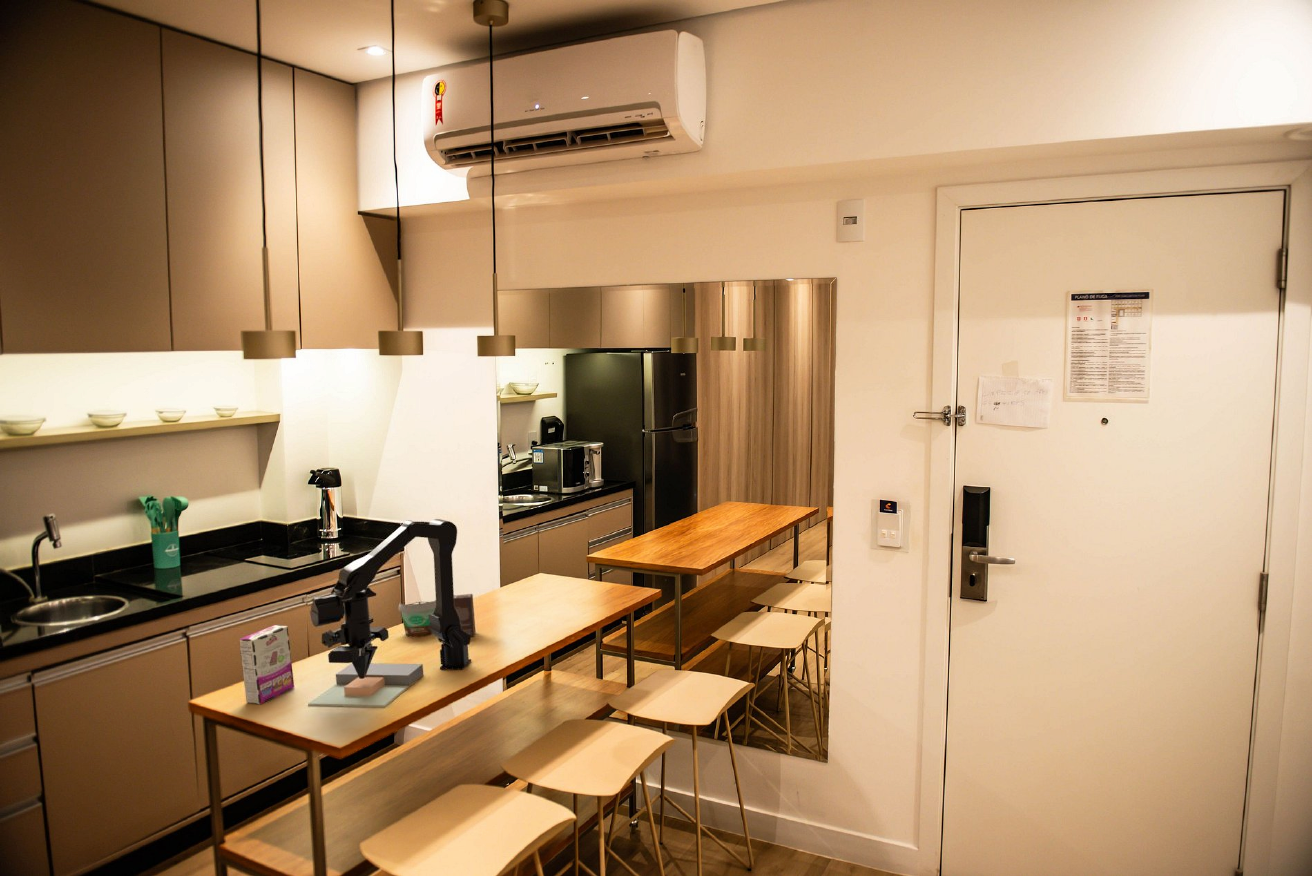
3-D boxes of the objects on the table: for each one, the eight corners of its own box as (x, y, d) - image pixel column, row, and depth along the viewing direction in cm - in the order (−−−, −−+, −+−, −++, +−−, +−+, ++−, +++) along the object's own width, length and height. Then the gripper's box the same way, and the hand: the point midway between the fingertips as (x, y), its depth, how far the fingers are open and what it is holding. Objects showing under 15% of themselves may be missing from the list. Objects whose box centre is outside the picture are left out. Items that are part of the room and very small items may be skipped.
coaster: (385, 684, 210) (384, 677, 210) (370, 695, 203) (370, 687, 203) (359, 684, 212) (359, 676, 211) (344, 695, 205) (343, 687, 205)
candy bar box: (280, 686, 215) (274, 624, 213) (295, 688, 213) (289, 625, 211) (244, 703, 204) (238, 638, 203) (259, 705, 202) (253, 639, 201)
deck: (423, 675, 217) (422, 663, 217) (409, 686, 209) (408, 675, 209) (353, 674, 221) (352, 663, 220) (336, 685, 213) (335, 674, 213)
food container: (399, 640, 247) (397, 608, 246) (400, 634, 253) (397, 602, 252) (442, 635, 250) (440, 602, 249) (442, 629, 256) (439, 597, 255)
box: (475, 632, 251) (473, 593, 250) (474, 636, 247) (471, 597, 246) (455, 633, 251) (452, 594, 250) (453, 638, 246) (450, 598, 245)
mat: (408, 687, 209) (408, 685, 209) (384, 707, 197) (384, 705, 197) (335, 686, 212) (335, 684, 212) (308, 705, 201) (308, 703, 201)
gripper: (347, 605, 216) (352, 664, 217) (305, 628, 197) (311, 692, 199) (387, 605, 214) (392, 664, 215) (348, 629, 195) (353, 693, 197)
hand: (362, 678), depth 206 cm, fingers closed
